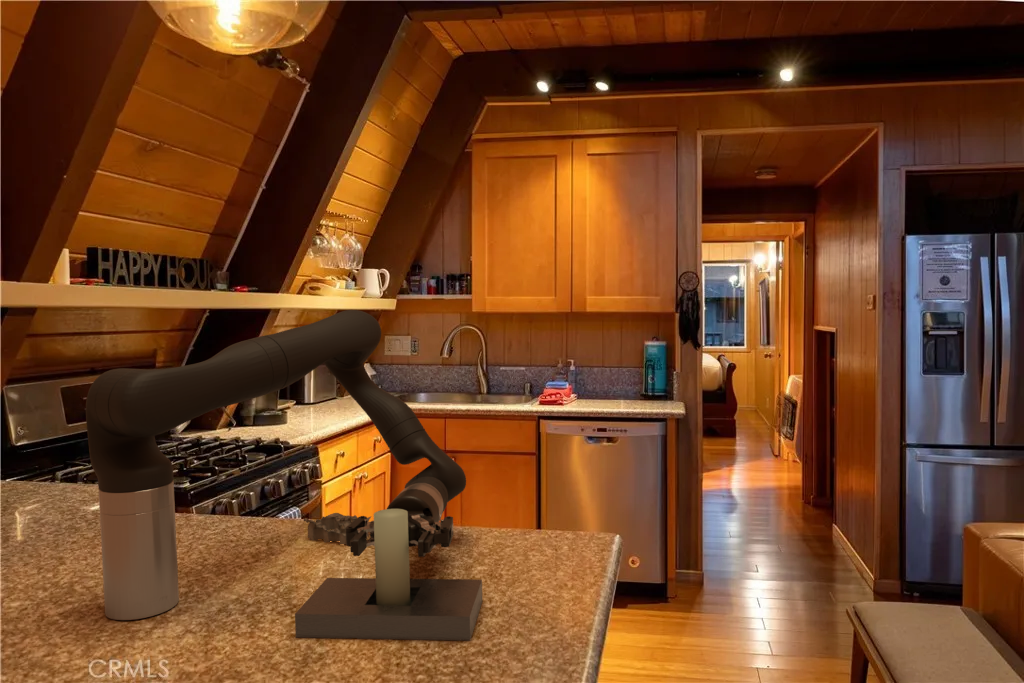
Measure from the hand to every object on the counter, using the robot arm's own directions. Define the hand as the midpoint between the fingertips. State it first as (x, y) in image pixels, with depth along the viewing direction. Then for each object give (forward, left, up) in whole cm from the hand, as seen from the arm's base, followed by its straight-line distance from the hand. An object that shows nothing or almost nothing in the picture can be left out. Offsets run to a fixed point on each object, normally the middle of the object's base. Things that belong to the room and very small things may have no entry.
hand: (388, 549), depth 94 cm
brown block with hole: (-1, +1, -10) cm, 10 cm away
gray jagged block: (-38, +13, -10) cm, 41 cm away
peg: (-1, +1, -10) cm, 10 cm away
